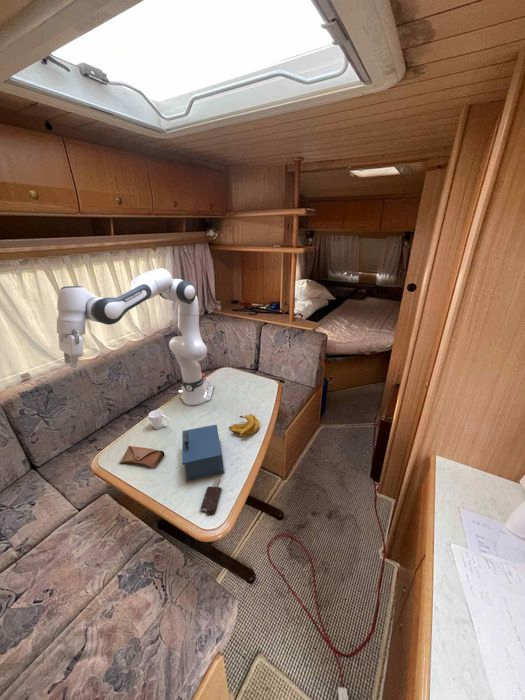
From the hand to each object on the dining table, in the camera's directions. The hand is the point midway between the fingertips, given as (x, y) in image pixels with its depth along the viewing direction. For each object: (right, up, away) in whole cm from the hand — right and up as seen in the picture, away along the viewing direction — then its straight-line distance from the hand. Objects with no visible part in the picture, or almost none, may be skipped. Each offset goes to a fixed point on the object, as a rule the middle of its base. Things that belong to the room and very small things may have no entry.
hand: (70, 365), depth 103 cm
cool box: (+47, -43, +18) cm, 66 cm away
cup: (+20, -34, +39) cm, 56 cm away
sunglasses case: (+19, -43, +19) cm, 51 cm away
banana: (+64, -34, +36) cm, 81 cm away
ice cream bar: (+54, -50, +1) cm, 74 cm away
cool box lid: (+47, -35, +14) cm, 60 cm away
